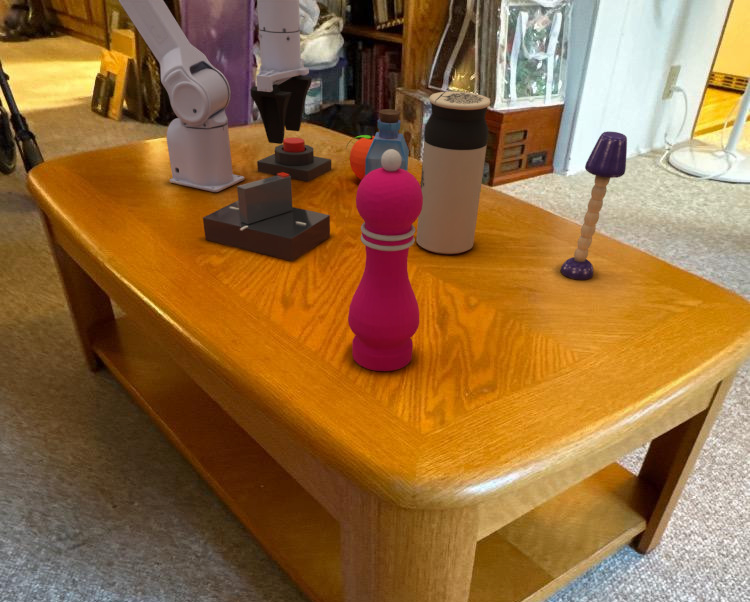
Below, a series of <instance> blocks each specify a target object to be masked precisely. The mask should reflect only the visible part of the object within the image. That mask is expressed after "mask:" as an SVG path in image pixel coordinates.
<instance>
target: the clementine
mask: <svg viewBox="0 0 750 602" xmlns="http://www.w3.org/2000/svg"><path fill="white" fill-rule="evenodd" d="M374 137H375V135H373V134H370V135H367V134H363V135H362V134H361V135H358V136H355V137H353V138H352V139H350V140H349V141H348V142H347V144H346V148H345V149H347V147H348V145H349V144H350V143H351V142H352V140H354V139H357V138H359V139H358V140H356V141H355V143H354V144H353V145H352V147H351V149H350V154H349V165H350V168H351V171H352V172H353V174H354V175H355V177H357V178H358V179H359V180H360V181H361V180H362V179H363V178H364V177H365V166H366V156H367V154H368V151H369V148H370V146H371V144H372V142H373V139H374Z"/></svg>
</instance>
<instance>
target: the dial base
mask: <svg viewBox="0 0 750 602" xmlns="http://www.w3.org/2000/svg"><path fill="white" fill-rule="evenodd" d="M202 223H203V229H204V237H205V241H209V242H212V243H213V242H214V243H217V244H222V245H226V246H230V247H234V248H238V249H241V250H245V251H248V252H249V251H250V252H254V253H257V254H262V255H265V256H268V257H269V256H270V257H273V258H278V259H282V260H286V261H288V262H289V261H290V262H294V261H296V260H297V259H298V258H300V257H301V256H303V255H305V254H306V253H308V252H309V251H310V250H312V249H314V248H315V247H317V246H318V245H320V244H321V243H323V242H325V241H326V240H327V239H329V238H330V237H331V214H326V213H322V212H317V211H312V210H308V209H303V208H299V207H294V206H292V211H289V212H286V213H283V214H279V215H276V216H273V217H270V218H267V219H264V220H260V221H257V222H254V223H251V224H246V223H243V222H241V221H240V212H239V201H238V200H236V201H233V202H232V203H229V204H228V205H225V206H223V207H222V208H221V207H220V208H219V209H217V210H215V211H213V212H211V213H209V214H207V215H205V216H203V217H202Z"/></svg>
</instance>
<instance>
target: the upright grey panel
mask: <svg viewBox="0 0 750 602" xmlns="http://www.w3.org/2000/svg"><path fill="white" fill-rule="evenodd" d="M236 188H237V189H236V191H237V201H239V212H240V221H241V222H243V223H246V224H251V223H254V222H257V221H260V220H264V219H267V218H270V217H273V216H276V215H279V214H283V213H286V212H289V211H292V207H293V191H292V190H293V188H292V178H291V176H289V174H287V173H284V172H281V173H278V174H277V175H272V176H269V177H266V178H262V179H258V180H254V181H251V182H247V183H244V184H240V185H236Z"/></svg>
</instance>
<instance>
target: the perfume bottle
mask: <svg viewBox="0 0 750 602" xmlns="http://www.w3.org/2000/svg"><path fill="white" fill-rule="evenodd" d="M378 113H379V119H377V129H378V131H376V133H375V135H374V136H375V137H374V139H373V142H372V144H371V146H370V148H369V151H368V154H367V156H366V166H365V176H366V175H367V174H368V173H369V172H371V171H373V170H375V169H378V168H382V164H381V158H382V155H383V154H384V152H385V151H387V150H389V149H394V150H396V151H398V152H399V154H400V156H401V160H402V162H401V166H400V167H399V168H400V169H403V170H405V171H407V172H408V169H409V153H410V151H409V147H408V144H407V142H406V139H405V137H404V134H403V133H399V131H400V130H401V120H400V115H401V112H400V110H397V109H389V108H388V109H387V108H385V109H384V108H383V109H380V110H379V111H378Z"/></svg>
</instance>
